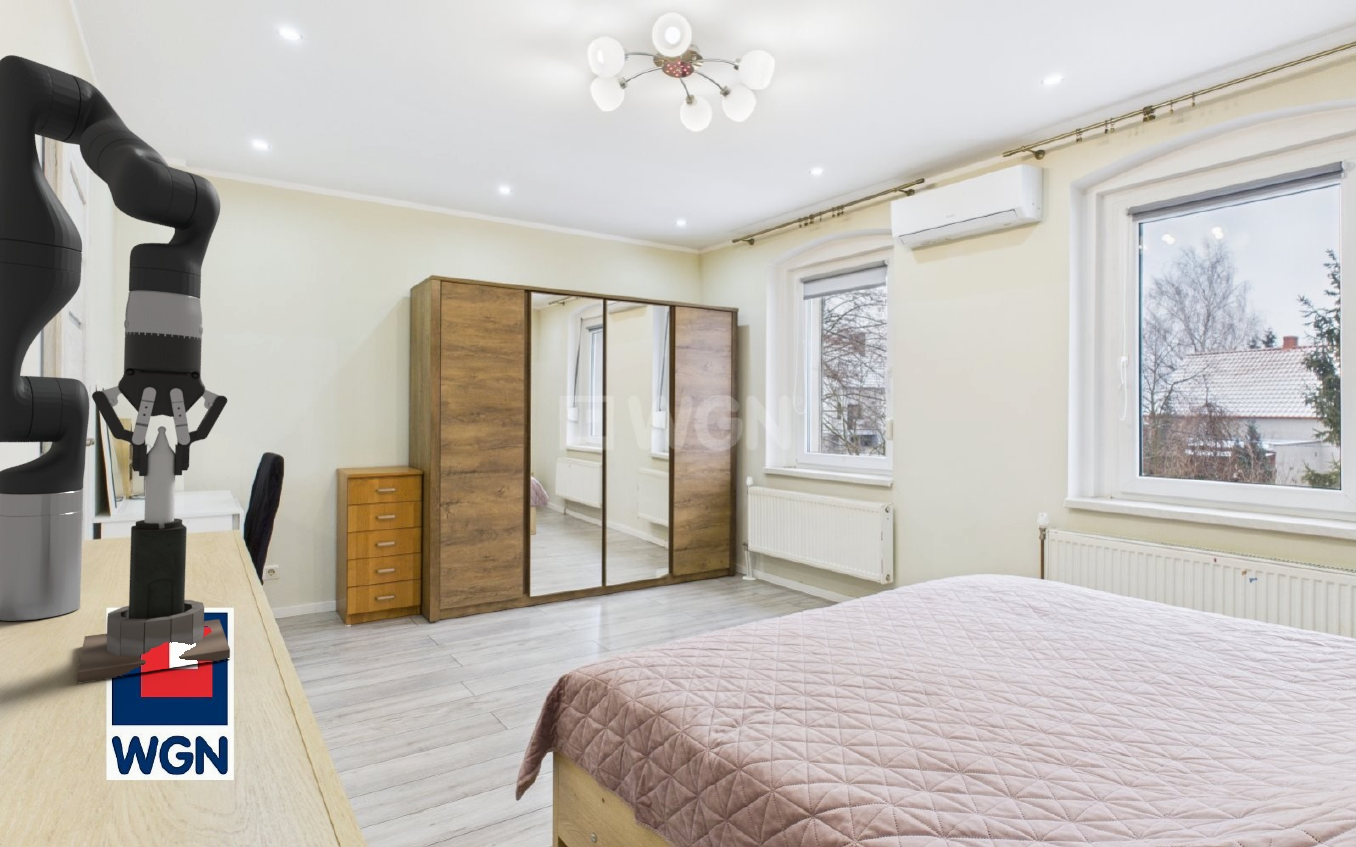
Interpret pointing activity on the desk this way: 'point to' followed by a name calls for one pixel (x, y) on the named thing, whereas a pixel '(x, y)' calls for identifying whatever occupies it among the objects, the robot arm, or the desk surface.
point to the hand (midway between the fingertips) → (160, 474)
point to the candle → (158, 542)
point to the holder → (149, 641)
